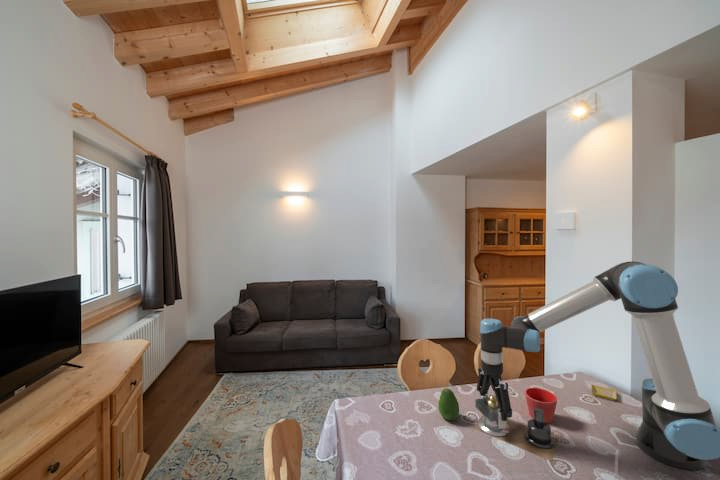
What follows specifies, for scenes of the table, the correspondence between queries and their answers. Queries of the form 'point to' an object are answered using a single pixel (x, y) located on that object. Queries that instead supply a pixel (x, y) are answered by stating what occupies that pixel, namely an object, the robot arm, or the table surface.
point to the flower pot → (541, 402)
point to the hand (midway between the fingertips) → (493, 419)
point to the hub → (492, 422)
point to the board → (524, 440)
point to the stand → (539, 431)
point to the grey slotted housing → (488, 409)
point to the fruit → (448, 405)
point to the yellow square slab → (596, 392)
